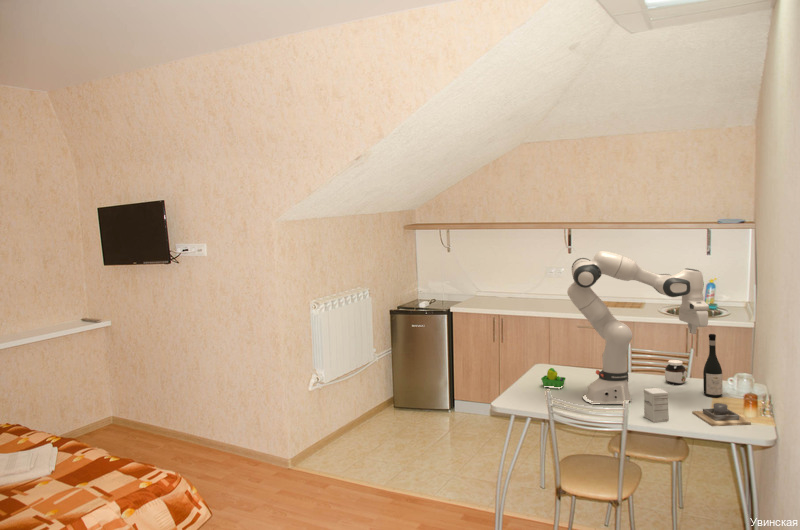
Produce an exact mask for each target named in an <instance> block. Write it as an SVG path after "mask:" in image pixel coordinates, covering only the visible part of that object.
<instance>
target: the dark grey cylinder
mask: <svg viewBox="0 0 800 530" xmlns="http://www.w3.org/2000/svg"><path fill="white" fill-rule="evenodd" d="M712 406H713V407H712V408H713V409H714V415H716V416H719V415H728V410H727V409H728V405H727V404H725V403H722V402H721V403H719V402H716V403H713V404H712Z"/></svg>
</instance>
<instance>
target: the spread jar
mask: <svg viewBox="0 0 800 530" xmlns="http://www.w3.org/2000/svg"><path fill="white" fill-rule="evenodd" d="M664 379H665V382H666V383H668V384H669V383H670V385H672V384H674V385H673V386H681V385H683V384H685V382H686V381H687V370H686V367H685V366H684V365H683V361H682V360H678V359H670V360H668V361H667V365H666V367H665V369H664Z"/></svg>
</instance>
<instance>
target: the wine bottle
mask: <svg viewBox="0 0 800 530" xmlns="http://www.w3.org/2000/svg"><path fill="white" fill-rule="evenodd" d="M716 340H717V335H716V334H715V333H709V334H708V348H709V350H708V356H707V359H706V361H705V363H704V367H703V371H702V373H703V375H702V376H703V377H702V378H703V394H704V395H705V396H706V397H708V398H709V397H710V398H721V397H722V396H723V370H722V367H721V364H720V362H719V360H718V357H717V352H716V347H717V346H716V343H717V341H716Z"/></svg>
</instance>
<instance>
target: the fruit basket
mask: <svg viewBox="0 0 800 530" xmlns="http://www.w3.org/2000/svg"><path fill="white" fill-rule="evenodd" d="M540 379H541V382H542V386H543V385H544V386H554V387H561V386H563V385H565V382H566V377H564V376H559V375H558V372H557V370H555V369H554V368H553V367H550V368H549V369H547V373H546V375H544V376H542V377H541V378H540ZM544 386H543V387H544ZM563 387H564V386H563Z"/></svg>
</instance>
